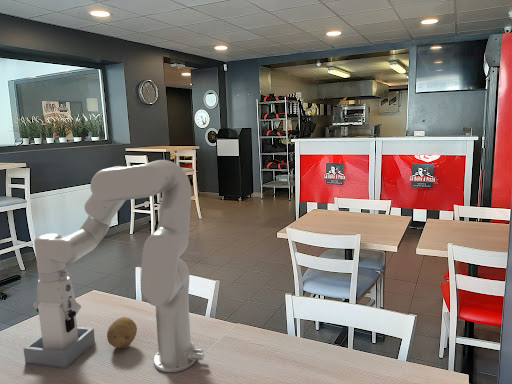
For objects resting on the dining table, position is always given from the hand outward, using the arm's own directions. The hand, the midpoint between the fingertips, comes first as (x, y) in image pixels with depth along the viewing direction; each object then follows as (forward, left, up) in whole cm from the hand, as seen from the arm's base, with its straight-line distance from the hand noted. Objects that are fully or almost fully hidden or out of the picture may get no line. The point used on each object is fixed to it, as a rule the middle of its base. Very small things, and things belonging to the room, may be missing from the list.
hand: (59, 328), depth 122 cm
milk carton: (0, 0, -7) cm, 7 cm away
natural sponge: (-18, -5, -8) cm, 20 cm away
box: (0, 0, -8) cm, 8 cm away
